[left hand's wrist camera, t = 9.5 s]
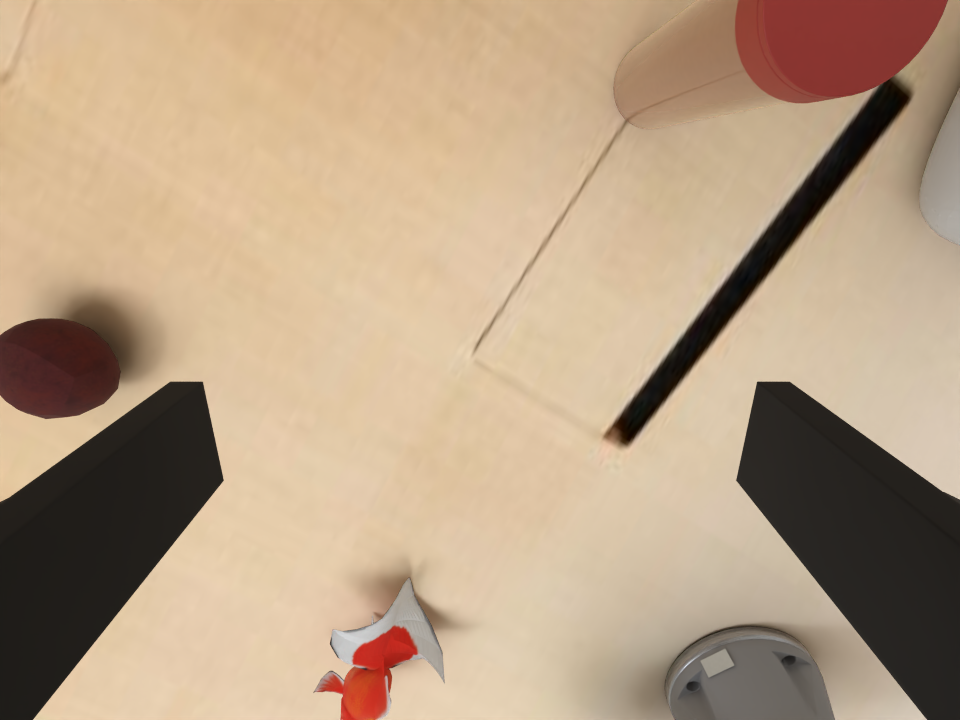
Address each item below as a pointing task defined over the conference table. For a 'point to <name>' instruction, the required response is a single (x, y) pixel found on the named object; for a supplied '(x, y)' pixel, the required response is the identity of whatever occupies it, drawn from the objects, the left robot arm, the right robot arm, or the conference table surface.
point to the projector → (944, 179)
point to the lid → (830, 43)
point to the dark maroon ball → (56, 368)
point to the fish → (381, 656)
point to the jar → (687, 71)
